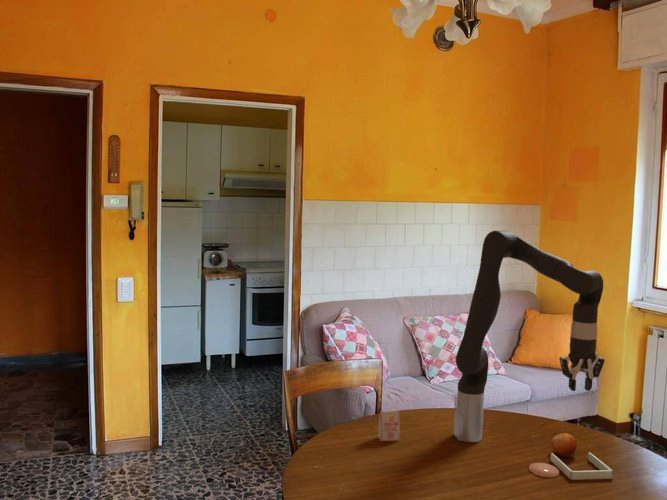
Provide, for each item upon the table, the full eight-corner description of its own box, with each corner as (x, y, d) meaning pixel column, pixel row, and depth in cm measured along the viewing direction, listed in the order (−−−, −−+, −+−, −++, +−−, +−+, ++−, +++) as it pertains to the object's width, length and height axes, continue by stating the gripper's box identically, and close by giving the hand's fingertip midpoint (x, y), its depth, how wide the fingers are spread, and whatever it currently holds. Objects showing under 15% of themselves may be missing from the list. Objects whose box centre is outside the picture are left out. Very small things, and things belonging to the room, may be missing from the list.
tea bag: (378, 437, 218) (379, 410, 217) (396, 436, 219) (397, 409, 218) (380, 441, 214) (381, 413, 213) (399, 441, 215) (400, 413, 214)
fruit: (584, 456, 203) (572, 435, 203) (561, 466, 205) (550, 445, 205) (579, 447, 211) (568, 426, 211) (558, 456, 213) (546, 435, 213)
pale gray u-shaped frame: (570, 479, 189) (571, 471, 189) (550, 460, 203) (550, 453, 203) (612, 478, 191) (613, 470, 191) (589, 459, 204) (590, 452, 204)
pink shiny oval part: (536, 477, 190) (536, 476, 190) (524, 464, 199) (524, 463, 199) (564, 477, 191) (564, 475, 191) (550, 464, 200) (551, 462, 200)
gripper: (599, 332, 193) (595, 386, 195) (555, 332, 192) (552, 386, 193) (612, 338, 186) (608, 394, 187) (567, 338, 184) (563, 394, 186)
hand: (579, 389), depth 190 cm, fingers open, 4 cm apart
